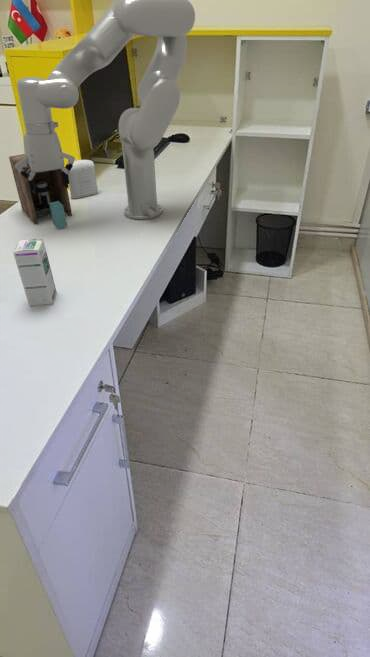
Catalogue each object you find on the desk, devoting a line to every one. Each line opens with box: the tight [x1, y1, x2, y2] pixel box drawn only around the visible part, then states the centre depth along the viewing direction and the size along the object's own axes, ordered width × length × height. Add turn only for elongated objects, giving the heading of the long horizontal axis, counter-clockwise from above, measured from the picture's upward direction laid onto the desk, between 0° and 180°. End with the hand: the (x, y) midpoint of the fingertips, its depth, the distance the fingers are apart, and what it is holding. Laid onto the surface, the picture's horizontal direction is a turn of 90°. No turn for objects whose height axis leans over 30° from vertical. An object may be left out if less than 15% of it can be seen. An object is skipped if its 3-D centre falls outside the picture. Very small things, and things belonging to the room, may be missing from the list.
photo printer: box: [68, 159, 99, 200], centre depth 160 cm, size 10×4×12 cm, turn 123°
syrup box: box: [12, 238, 57, 306], centre depth 104 cm, size 6×6×14 cm
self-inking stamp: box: [35, 181, 51, 211], centre depth 149 cm, size 7×5×10 cm
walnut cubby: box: [8, 153, 73, 226], centre depth 146 cm, size 14×13×18 cm
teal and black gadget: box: [33, 198, 68, 230], centre depth 145 cm, size 21×10×7 cm, turn 32°
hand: (50, 189), depth 134 cm, fingers open, 9 cm apart
